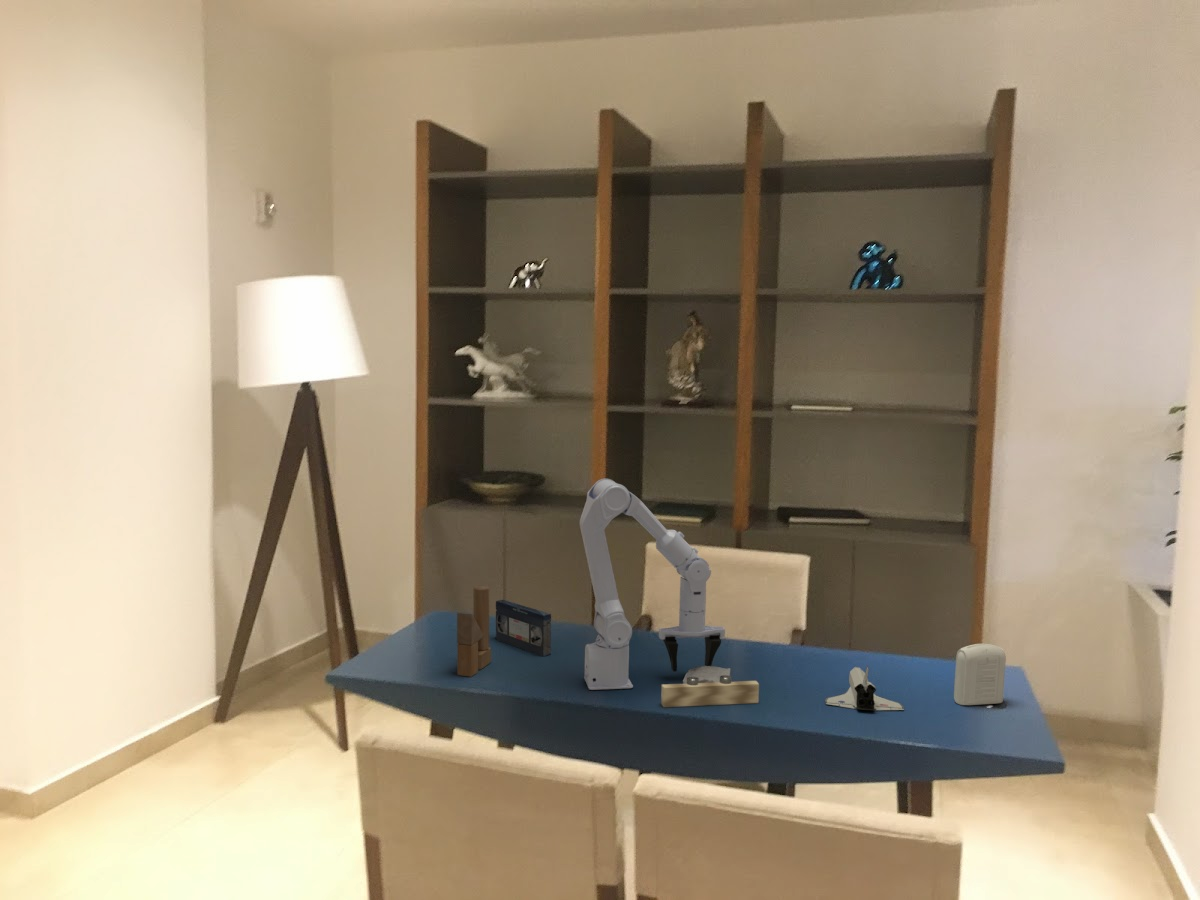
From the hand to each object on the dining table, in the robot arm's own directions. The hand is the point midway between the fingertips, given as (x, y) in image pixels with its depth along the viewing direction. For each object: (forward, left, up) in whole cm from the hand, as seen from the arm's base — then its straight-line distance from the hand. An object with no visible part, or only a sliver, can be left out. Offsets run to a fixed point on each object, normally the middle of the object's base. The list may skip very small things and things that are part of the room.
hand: (690, 669), depth 208 cm
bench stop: (0, -16, -2) cm, 16 cm away
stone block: (+2, -7, -2) cm, 7 cm away
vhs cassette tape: (-35, +26, -2) cm, 44 cm away
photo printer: (+56, -22, -2) cm, 60 cm away
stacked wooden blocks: (-47, +11, -2) cm, 48 cm away
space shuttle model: (+34, -13, -3) cm, 36 cm away
